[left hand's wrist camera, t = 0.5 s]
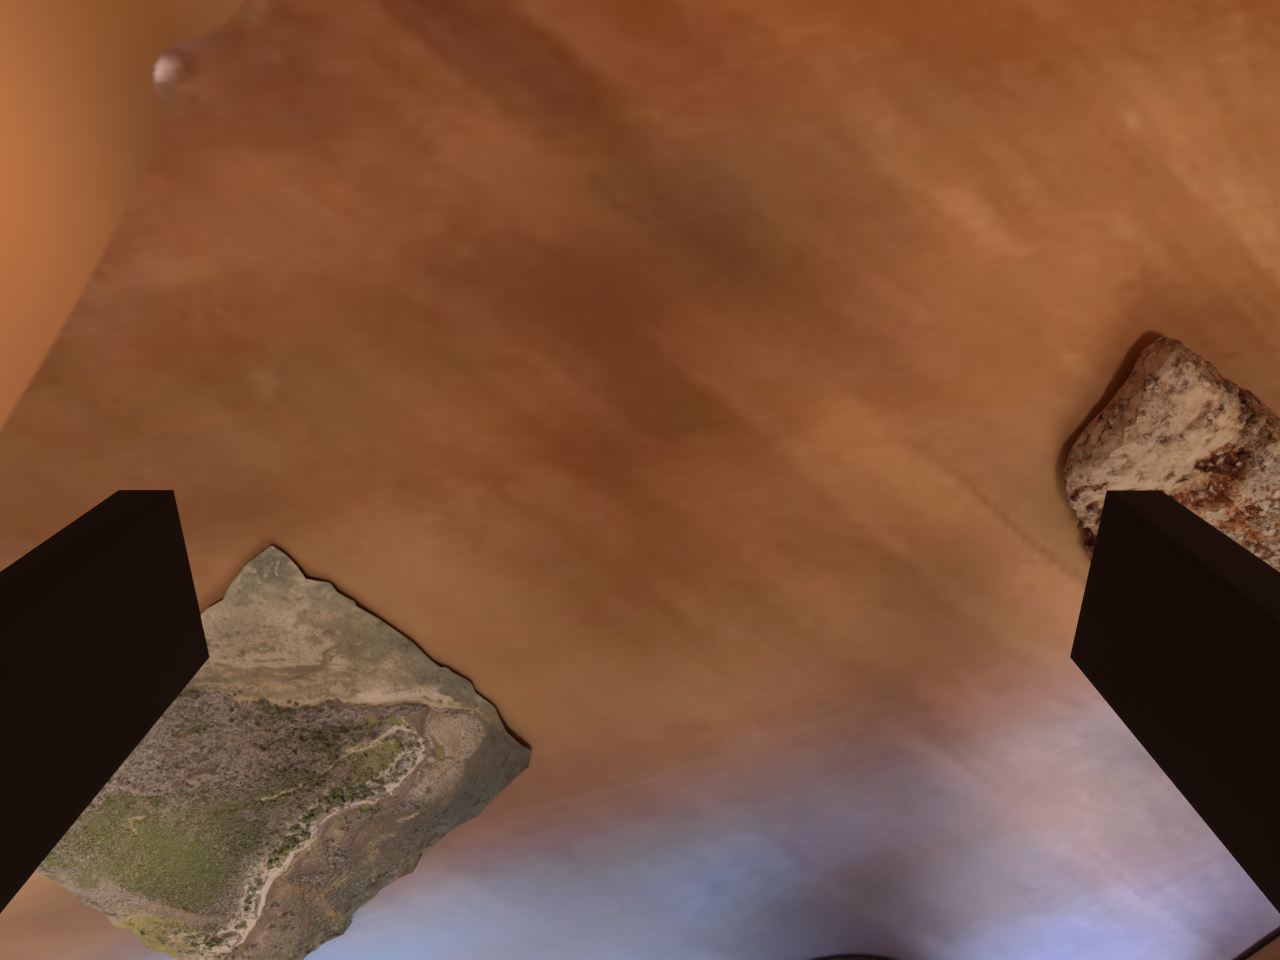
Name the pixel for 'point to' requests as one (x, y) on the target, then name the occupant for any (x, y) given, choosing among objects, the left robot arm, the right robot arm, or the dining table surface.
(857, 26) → the dining table surface
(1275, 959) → the decorative block
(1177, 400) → the rock
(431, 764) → the slab
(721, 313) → the dining table surface
